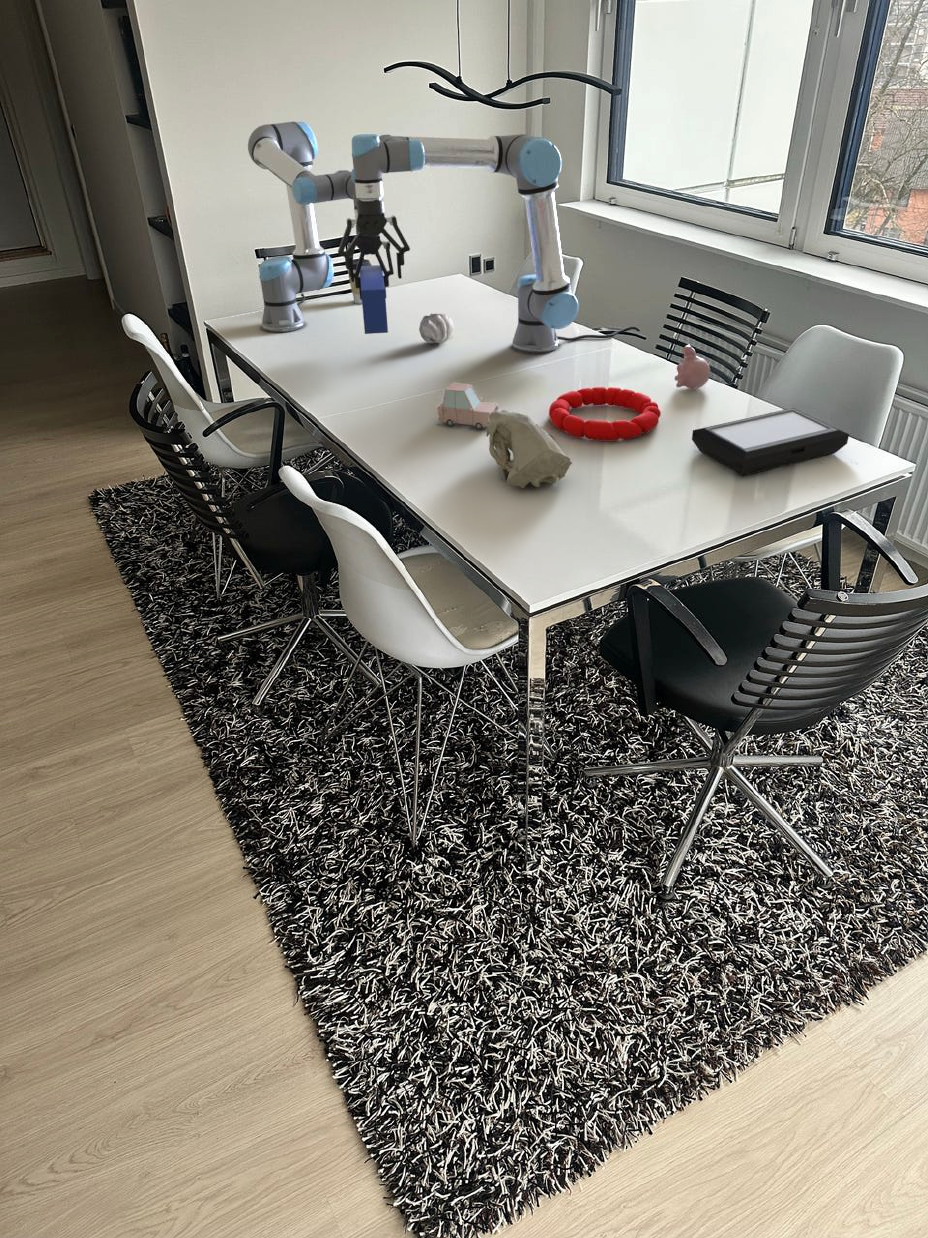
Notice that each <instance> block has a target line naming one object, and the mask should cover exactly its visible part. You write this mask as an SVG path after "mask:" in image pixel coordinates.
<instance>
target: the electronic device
mask: <svg viewBox="0 0 928 1238" xmlns="http://www.w3.org/2000/svg"><path fill="white" fill-rule="evenodd" d="M849 437H850V433H848V432H846V431H843V430H841V429H839V428H837V427H836V426H833V425H831V424H828V423H827V422H824V421H822V420H820V419H818V418H816V417H814V416H812V415H810V414H807V413H806V412H803V411H801V410H800V409H797V408H795V407H790V408H786V409H781V410H777V411H772V412H768V413H764V414H760V415H755V416H750V417H746V418H742V419H736V420H732V421H728V422H724V423H719V424H714V425H710V426H706V427H701V428H697V429H692V434H691V441H692V442H693V443H694V446H695V447H696V448H697V449H698V451H699V452H700V453H702V454H704V455H705V456H707V457H709V458H711V459H712V460H713V461H715V462H717V463H719V464H720V465H723V466H725V467H726V468H728V469H729V470H731V471H733V472H735V473H736V474H738V475H739V476H740V477H744V476H746V475H751V474H752V475H753V474H755V473H759V472H764V471H768V470H772V469H776V468H780V467H784V466H788V465H792V464H795V463H800V462H804V461H808V460H812V459H817V458H820V457H826V456H828V455H834V454H836V453H837V452H839V451H840V450H841V449H842V448H843V447H845V446H846V445H847V444H848V443H849Z"/></svg>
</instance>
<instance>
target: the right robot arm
mask: <svg viewBox="0 0 928 1238" xmlns="http://www.w3.org/2000/svg"><path fill="white" fill-rule="evenodd" d="M351 158H352V159H351V160H352V166H353V168H352V169H354V178H355V192H356V198H358V200H357V201H356V203H357V215H358V217H357V220H355V219H354V218H353V219H352V218H350V217H348V218H346V228H345V230H344V233H343V236H342V239H341V241H340V244H339V246H338V249H337V254H338V256H339V257H344V261H345V268H346V270H348V269H350V274H351V281H352V282H354V273H353V262H352V256H350V255H351V253H352V252H353V253H354V251H355V250H356V247H357V244H358V243H359V241H360V240H361V238H362V237H363V236H364V234H365V235H367V236H371V235H379V234H380V235H381V234H382V235H383V236H384V237H385V238H386V240H387V241H389V242H390V245H392V246H393V247H394V248H395V250H396V251H397V252H396V254H395V255H396V266H397V267H396V268H397V278H398V279H400V280H401V279H402V278H403V275H402V266H405V253H406V252H409V251H410V250H411V248H410V246H409V244H408V242H407V240H406V238H405V237H404V234H403V232H402V231H401V228H400V227H399V225H398V220H397V217H396V215H394V214H393V215H391V216H389V217H386V214H385V200H384V199H383V197H384V187H383V186H384V185H383V174H389V173H404V172H410V173H412V172H415V171H421V170H422V169H423V168H424V167H426V168H459V169H486V170H487V171H488V172H489V173H497V174H503V175H506V176H510V177H513V178H515V179H516V187H517V191H518V192H517V193H518V195H519V196H520V197H523V199H524V204H525V211H526V217H527V218H526V219H527V223H528V232H529V239H530V244H531V245H530V246H531V251H532V252H531V253H532V259H533V265H534V266H533V267H534V272H535V273H534V274H526V275H522V276H521V277H519V279H518V283H517V285H518V286H517V300H518V301H517V326H516V329H515V332H514V335H513V338H512V348H513V349H514V350H515V351H517V352H520V353H525V354H546V353H550V352H553V351H555V350H557V349H558V347H559V340H561V341H566V342H574V341H578V340H581V339H611V338H614V337H615V336H616V335H619V334H622V333H625V332H627V331H631V330H635V331H636V332H641V329H640V328H639V327H637V326H628V327H625V328H622V329H619V330H617V331H616V330H615V332H613V333H610V334H602V335H601V334H583V335H578V336H575V337H574V336H573V337H565V336H559V335H557V331H556V330H562V329H565V328H567V327H569V326H570V325H571V324H572V323H573V322H574V320H575V319H576V317H577V315H578V314H579V301H578V299H577V297H576V295H574V293H572V288H571V287H572V286H571V281H570V277H568V276H567V275H565V272H564V271H565V270H564V264H563V257H562V248H561V240H560V232H559V225H558V224H559V223H558V216H557V208H556V200H555V191H556V190H557V188H558V187H559V181H558V177H559V174H561V171H562V157H561V153H560V151H559V149H558V148H557V146H556V145H555V144H554V143H553V142H551V141H549V139H546V138H544V137H540V136H534V135H529V134H524V133H520V134H509V135H490V136H489V137H488V138H486V139H485V138H483V139H482V138H458V137H435V136H434V137H431V136H402V135H401V136H400V135H391V134H380V135H378V134H377V133H361V134H356V135H354V136H352V138H351ZM387 223H389V225H390V226H392V227H393V229H394V231H395V233H396V235H397V236H398V238H399V240H400V242H401V244H402V245H403V246H402V247H401V245H400V244H399V243H398V242H397V241H396V239H395V238H394V237H392V235H391V234H390V233H389V232H388V231H387V230H386V229H385V227H386V225H387ZM356 224H357V225H358V226H359V228H360V230H359V231H358V233H357V235H355V236H354V238H353V239H352V241H351V242H350V243H351V244H350V245H349V247H348V246H347V245H348V241H349V238H350V235H351V232H352V229H353V228H355V226H356ZM346 246H347V248H346ZM354 249H355V250H354Z"/></svg>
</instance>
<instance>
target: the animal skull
mask: <svg viewBox="0 0 928 1238" xmlns="http://www.w3.org/2000/svg"><path fill="white" fill-rule="evenodd" d="M485 436H486V438H487V437H489V438H488V440H489V444H488V445H489V446H488V450H489V454H490V456H491V457H492V458H493V459H494V460H495V462H496V464H497V466H499V468H500V470H501V471H502V472H501V478H502V479H507V480H506V484H507V486H517V487H518V486H519V488H523V489H524V488H526V486H527V485H529V483H531V485H533V486H534V487H536V488H540V485H541V484H542V482H544V483H549V484H550V485H553V484H555V483H556V482H557V480H561V479H563V478H565V476H566V474H567V472H568V471H569V469H570V467H571V466H572V464H573V462H572V461H571V458H570V457H568V456H567V455H565V453H564V451H562V449H561V448H560V446H559V444H557V443H556V439H555V438H554V436H553V435H551V434H550V433H548V432H547V431H546V430H545V429H544V428H542V427H541V426H539V425H538V424H537V423H536V424H535V422H534V421H533V419H532V418H531V417H530V416H529V415H527V414H524V413H519V412H515V411H509V410H507V409H502V410H500V411H499V410H497V411H496V412H492V413H491V414H490V422H488V423H487V427H486V435H485ZM511 453H512V454H511ZM511 455H512V457H513V458H512V460H511ZM507 474H508V475H507Z"/></svg>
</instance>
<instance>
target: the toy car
mask: <svg viewBox="0 0 928 1238" xmlns="http://www.w3.org/2000/svg"><path fill="white" fill-rule="evenodd" d="M498 409H499V404H498V403H497V402H490V401H489V402H487V401H483V397H481V396H480V395H479V394H478V393H477V391H476V390H475V389H474V386H472V384H469V383H459V382H451V383H450V384H449V385H448V386H447V387H446V388H445V389H444V394H443V399H442V403H440V404H439V405H438V406H437V413H438V421H439V422H443V423H446V425H447V426H448V427H452V426H454V425H455V424H461V425H469V426H473V427H475V429H476V430H479V431H480V430H481V429H483V428H485V427H486V428H487V423H488V422H490V414H491V413H492V412H496V411H499V410H498Z"/></svg>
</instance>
